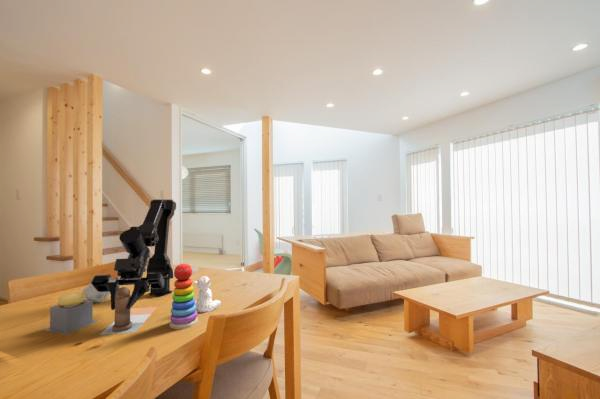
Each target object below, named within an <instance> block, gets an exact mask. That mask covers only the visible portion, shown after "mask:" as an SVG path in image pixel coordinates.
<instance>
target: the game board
mask: <svg viewBox="0 0 600 399" xmlns="http://www.w3.org/2000/svg"><path fill="white" fill-rule="evenodd" d="M157 308H158V306H150V307H149V306H148V307H147V306H146V307H135V308H134V307H131V308H130V321H131V322H132V327H131V328H130V329H128V330H125V331H121V332H114V331H112V326H113V325H114V324H115V321H113V322H112V323H111V324H110V325H109V326H107V328H105V329H104V330H103V331H102V332H100V333H98V334H99V336H105V335H120V334H129V333H130V334H132V333H136V332H137V330H138V329H140V327H141V326H142V325H143V324H144V323H145V322H146V321H147V320H148V318H149V317H150V316H151V315H152V314H153V313H154V312H155V311H156V310H157Z"/></svg>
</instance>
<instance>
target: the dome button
mask: <svg viewBox="0 0 600 399" xmlns="http://www.w3.org/2000/svg"><path fill="white" fill-rule="evenodd" d="M84 301H87V299H86V293H83V292H72V293H67V294H64V295H59V296H58V298H57V305H59V306H64V307H66V308H70V307H74V306H77V305H80V303H82V302H84Z"/></svg>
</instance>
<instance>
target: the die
mask: <svg viewBox="0 0 600 399" xmlns="http://www.w3.org/2000/svg"><path fill="white" fill-rule="evenodd" d="M82 293H86V301H92V302H93V304H94V303H95V302H96V303H99V304H101V303H103V302H104V301H105V300H106V299H107V298H108V297H109V296H111V294H110V292H98V291H97V290H96V289H95V287H94V286H93V285H92V284H91V282H89V284H88V285H87V286H86V287H84V288H83V289H82ZM96 303H95V304H96Z"/></svg>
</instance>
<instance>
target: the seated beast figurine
mask: <svg viewBox="0 0 600 399" xmlns="http://www.w3.org/2000/svg"><path fill="white" fill-rule="evenodd" d="M193 283H194V285H195V286H197V289H199V291H198V294H197V300H195V306H196V311H197V313H207V312H208V313H211V312H212V311H214V310H216V309H217V308H219V307H220V306H221V303H222V302H221V300H219V299H214V300H213V291H212V290H211V289H210V287H211V285H212V278H211V279H210V278H209V277H208V276H207V275H204V276H201V277H199V278H198V279H197V280H194V281H193Z"/></svg>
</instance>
